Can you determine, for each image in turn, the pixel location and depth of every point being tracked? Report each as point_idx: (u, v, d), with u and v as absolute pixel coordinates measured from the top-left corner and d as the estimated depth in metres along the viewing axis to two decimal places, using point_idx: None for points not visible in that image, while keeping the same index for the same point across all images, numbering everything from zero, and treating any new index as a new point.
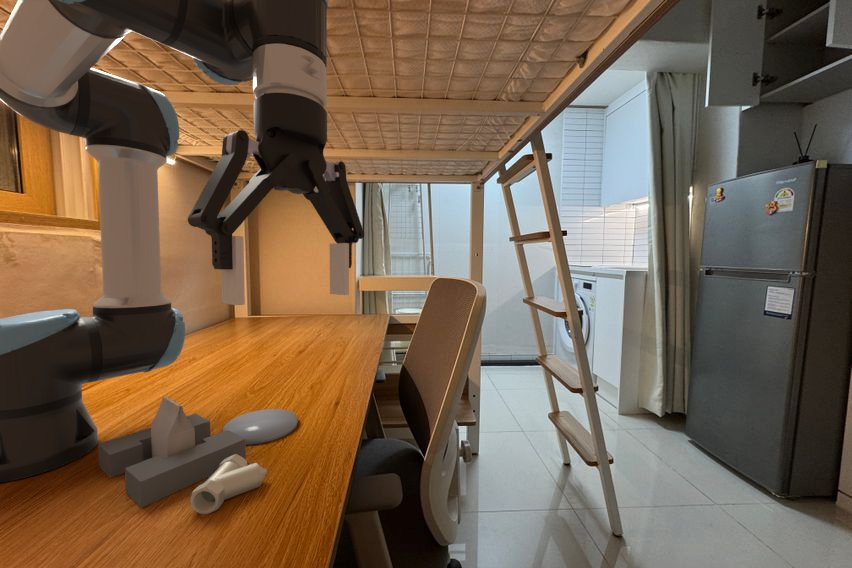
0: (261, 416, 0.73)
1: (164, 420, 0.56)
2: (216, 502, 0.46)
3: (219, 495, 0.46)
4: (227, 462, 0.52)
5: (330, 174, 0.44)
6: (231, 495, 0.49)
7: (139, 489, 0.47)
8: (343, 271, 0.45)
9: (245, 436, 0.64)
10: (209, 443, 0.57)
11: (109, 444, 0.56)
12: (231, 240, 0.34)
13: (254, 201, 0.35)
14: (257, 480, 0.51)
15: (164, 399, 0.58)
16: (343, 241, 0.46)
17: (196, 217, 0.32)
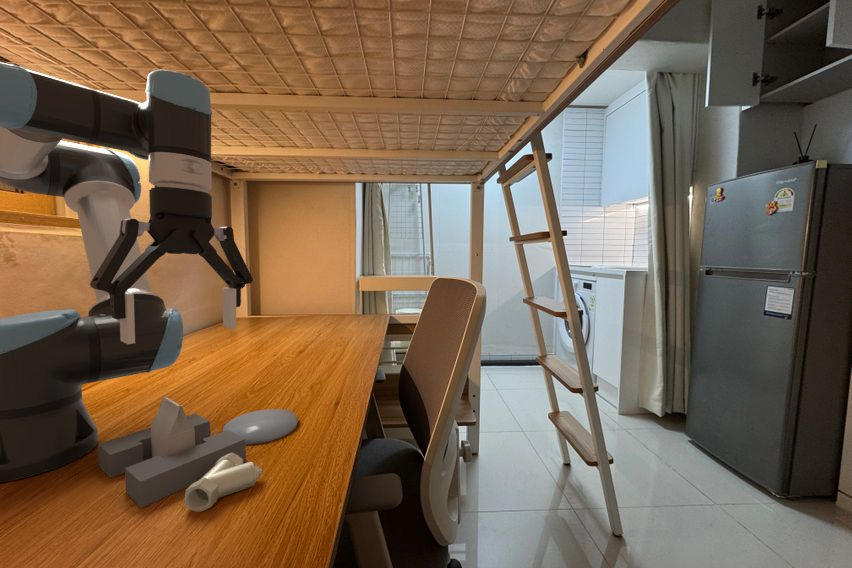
0: (261, 416, 0.73)
1: (164, 420, 0.56)
2: (209, 500, 0.46)
3: (212, 493, 0.47)
4: (223, 460, 0.52)
5: (219, 236, 0.57)
6: (225, 493, 0.49)
7: (139, 489, 0.47)
8: (231, 310, 0.59)
9: (245, 436, 0.64)
10: (209, 443, 0.57)
11: (109, 444, 0.56)
12: (124, 297, 0.47)
13: (144, 268, 0.48)
14: (251, 479, 0.51)
15: (164, 399, 0.58)
16: (232, 286, 0.59)
17: (94, 284, 0.45)
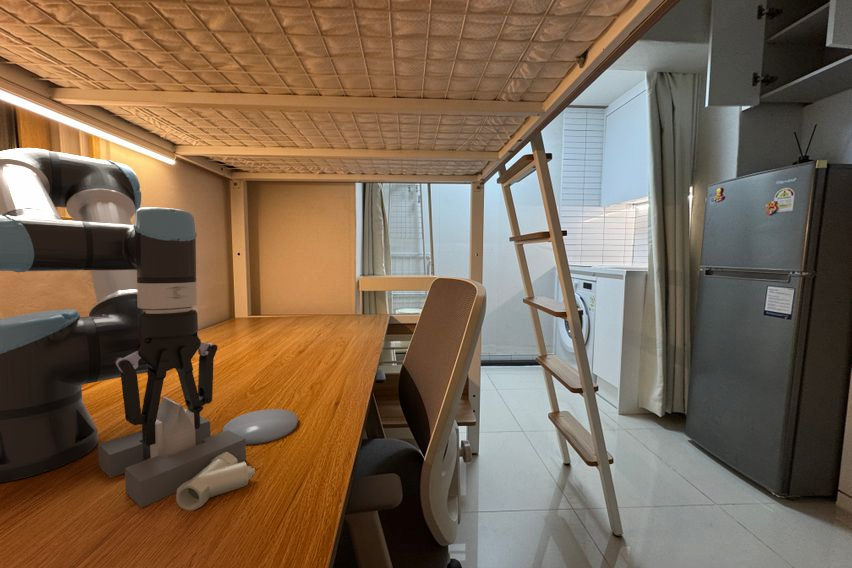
0: (261, 416, 0.73)
1: (164, 420, 0.56)
2: (199, 499, 0.47)
3: (203, 493, 0.47)
4: (217, 460, 0.53)
5: (202, 351, 0.60)
6: (217, 493, 0.49)
7: (139, 489, 0.47)
8: None
9: (245, 436, 0.64)
10: (209, 443, 0.57)
11: (109, 444, 0.56)
12: (154, 426, 0.55)
13: (157, 395, 0.54)
14: (243, 479, 0.51)
15: (164, 399, 0.58)
16: (191, 410, 0.59)
17: (130, 422, 0.52)
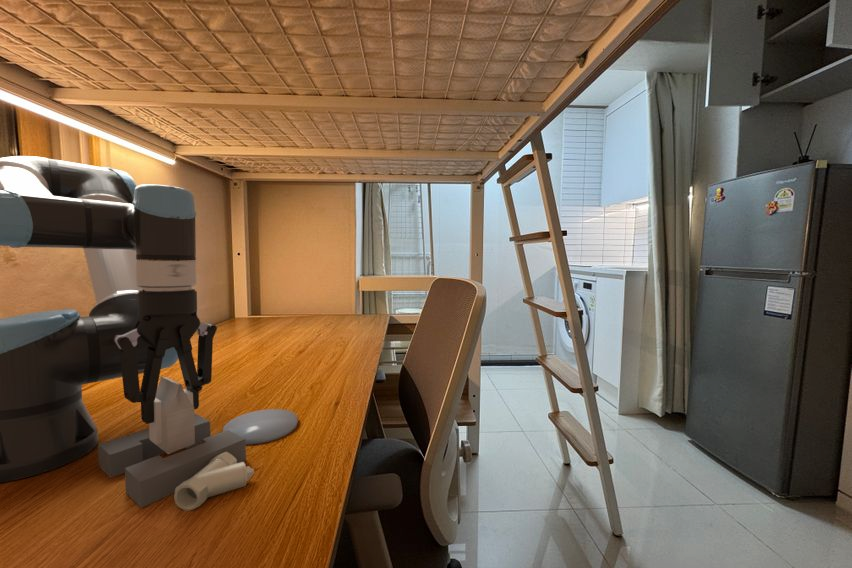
0: (261, 416, 0.73)
1: (163, 399, 0.56)
2: (197, 499, 0.47)
3: (200, 493, 0.47)
4: (216, 459, 0.53)
5: (201, 331, 0.60)
6: (215, 493, 0.49)
7: (139, 489, 0.47)
8: None
9: (245, 436, 0.64)
10: (209, 443, 0.57)
11: (109, 444, 0.56)
12: (153, 404, 0.55)
13: (156, 373, 0.54)
14: (242, 479, 0.51)
15: (162, 378, 0.58)
16: (190, 389, 0.59)
17: (128, 399, 0.52)
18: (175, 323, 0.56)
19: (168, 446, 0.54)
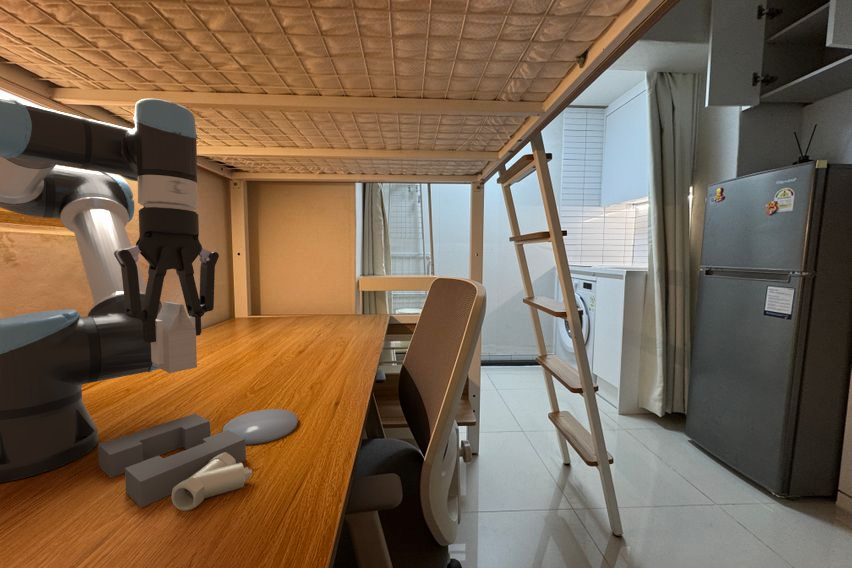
0: (261, 416, 0.73)
1: (165, 320, 0.56)
2: (194, 500, 0.46)
3: (197, 493, 0.47)
4: (215, 460, 0.53)
5: (203, 257, 0.60)
6: (212, 494, 0.49)
7: (139, 489, 0.47)
8: None
9: (245, 436, 0.64)
10: (209, 443, 0.57)
11: (109, 444, 0.56)
12: (154, 323, 0.54)
13: (157, 291, 0.54)
14: (240, 480, 0.51)
15: (165, 303, 0.58)
16: (192, 315, 0.58)
17: (130, 315, 0.52)
18: (177, 244, 0.56)
19: (169, 365, 0.54)
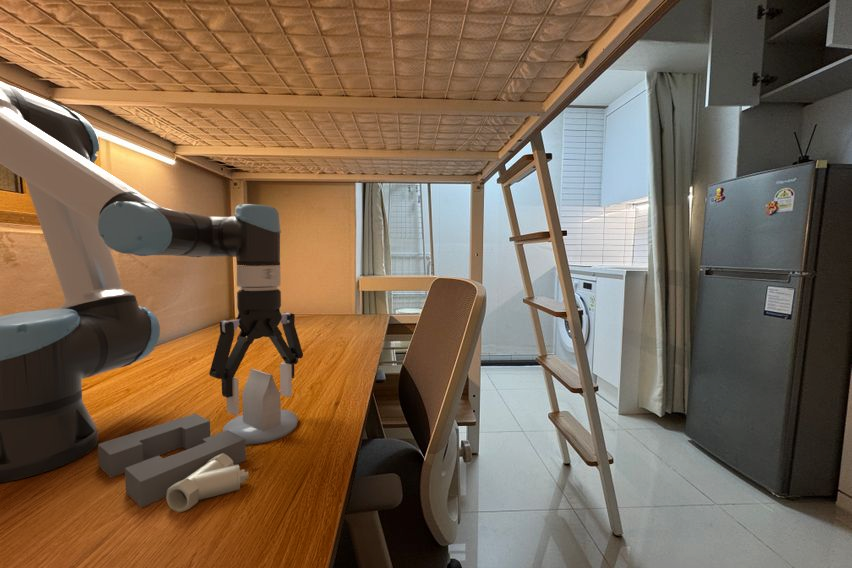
0: None
1: (255, 387, 0.69)
2: (187, 502, 0.46)
3: (191, 495, 0.46)
4: (212, 461, 0.52)
5: (284, 321, 0.73)
6: (207, 496, 0.49)
7: (139, 489, 0.47)
8: (288, 382, 0.73)
9: (245, 436, 0.64)
10: (209, 443, 0.57)
11: (109, 444, 0.56)
12: (232, 381, 0.64)
13: (241, 356, 0.65)
14: (235, 483, 0.50)
15: (252, 370, 0.71)
16: (288, 362, 0.74)
17: (214, 375, 0.62)
18: (265, 317, 0.69)
19: (263, 425, 0.67)
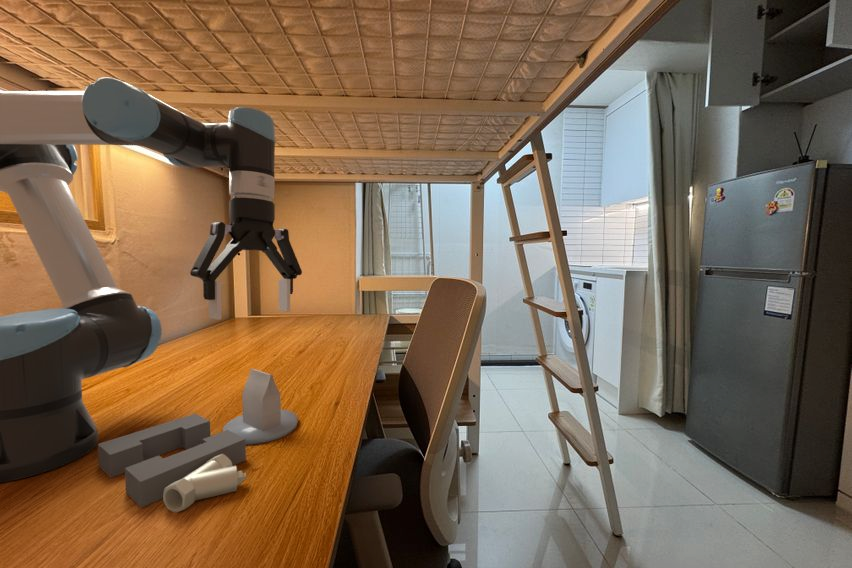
0: None
1: (255, 387, 0.69)
2: (183, 502, 0.46)
3: (186, 495, 0.46)
4: (211, 461, 0.52)
5: (278, 237, 0.71)
6: (203, 496, 0.48)
7: (139, 489, 0.47)
8: (286, 296, 0.72)
9: (245, 436, 0.64)
10: (209, 443, 0.57)
11: (109, 444, 0.56)
12: (214, 283, 0.61)
13: (228, 260, 0.62)
14: (232, 484, 0.50)
15: (252, 370, 0.71)
16: (287, 277, 0.73)
17: (195, 272, 0.59)
18: (258, 229, 0.67)
19: (263, 425, 0.67)
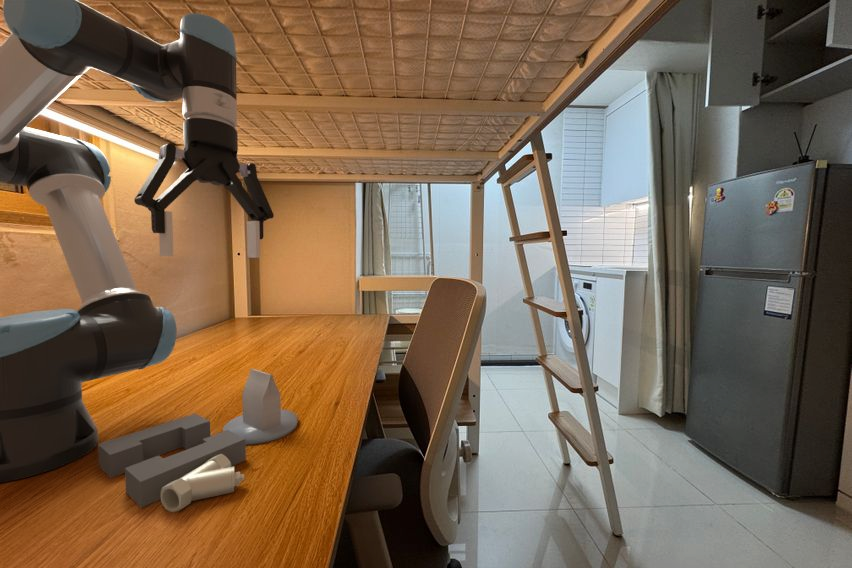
0: None
1: (255, 387, 0.69)
2: (179, 502, 0.46)
3: (183, 496, 0.46)
4: (209, 461, 0.52)
5: (244, 172, 0.63)
6: (200, 497, 0.48)
7: (139, 489, 0.47)
8: (255, 240, 0.64)
9: (245, 436, 0.64)
10: (209, 443, 0.57)
11: (109, 444, 0.56)
12: (164, 214, 0.53)
13: (180, 189, 0.54)
14: (229, 485, 0.50)
15: (252, 370, 0.71)
16: (256, 219, 0.65)
17: (138, 198, 0.50)
18: (218, 158, 0.58)
19: (263, 425, 0.67)
